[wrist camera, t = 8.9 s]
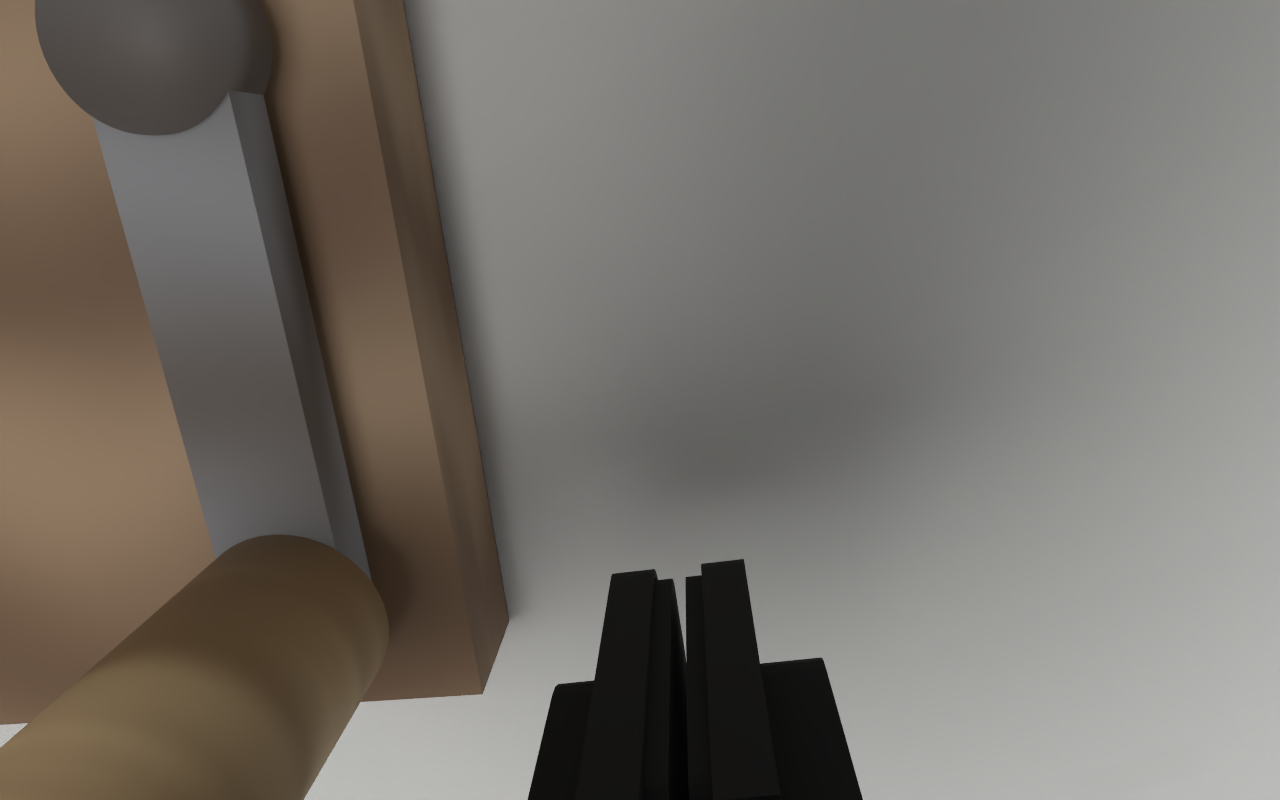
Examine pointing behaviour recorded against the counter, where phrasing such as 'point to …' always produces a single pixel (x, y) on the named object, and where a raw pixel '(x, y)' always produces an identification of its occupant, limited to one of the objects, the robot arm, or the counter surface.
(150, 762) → the hinged leg
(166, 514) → the stool seat
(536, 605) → the counter surface
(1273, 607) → the counter surface
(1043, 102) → the counter surface
